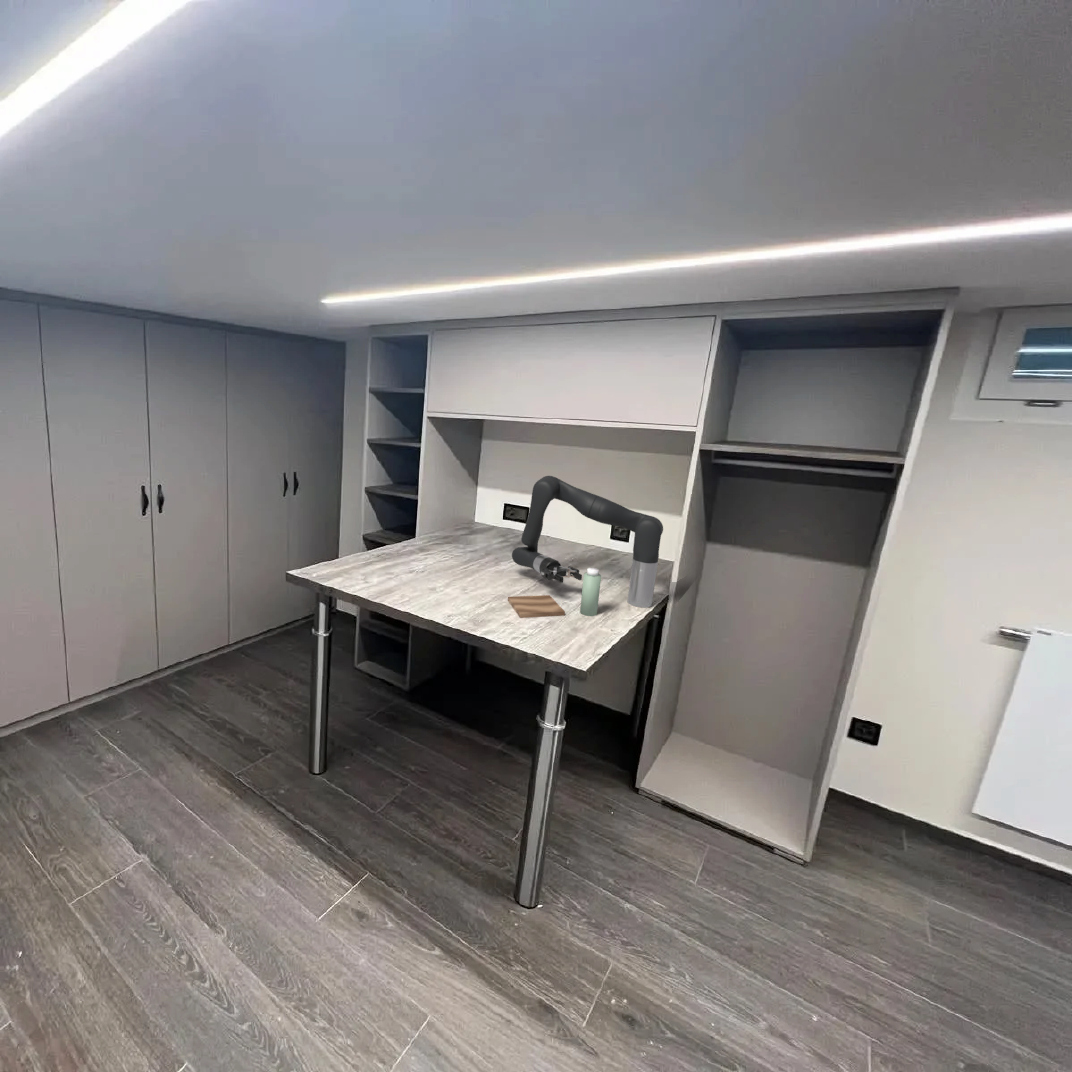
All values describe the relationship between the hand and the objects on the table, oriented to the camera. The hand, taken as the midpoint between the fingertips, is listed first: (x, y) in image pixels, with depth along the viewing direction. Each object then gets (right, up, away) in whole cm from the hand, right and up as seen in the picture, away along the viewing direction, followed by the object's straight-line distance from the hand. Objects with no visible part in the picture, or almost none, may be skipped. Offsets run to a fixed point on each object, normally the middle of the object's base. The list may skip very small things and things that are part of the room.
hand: (571, 578), depth 183 cm
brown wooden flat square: (-13, -10, -6) cm, 18 cm away
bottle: (+5, -11, -7) cm, 14 cm away
